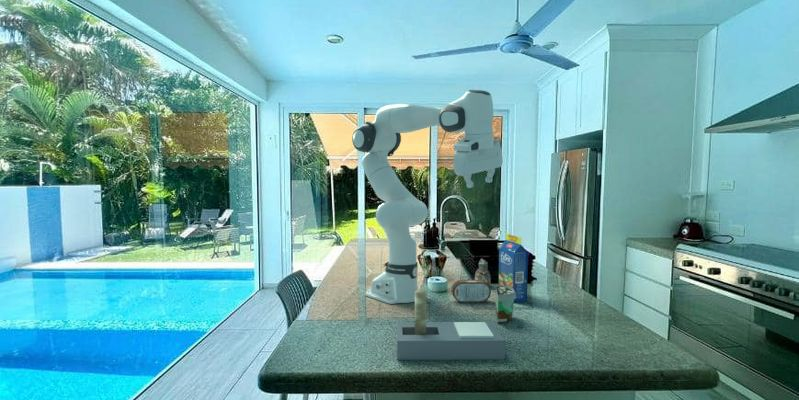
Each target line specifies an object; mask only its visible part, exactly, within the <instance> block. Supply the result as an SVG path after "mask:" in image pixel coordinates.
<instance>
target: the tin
mask: <svg viewBox="0 0 799 400" xmlns="http://www.w3.org/2000/svg"><path fill="white" fill-rule="evenodd" d="M450 291H451V294H452V296H453V298H454V299H455V300H456V301H457V302H459V303H484V302H486V301H488V300H489V299H490V297H491V293H492V289H491V287H489V285H488V284H487V282H485V281H483V280H475V279H458V280H456V281H455V282H454V283H453V284H452V286H451V290H450Z"/></svg>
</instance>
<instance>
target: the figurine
mask: <svg viewBox="0 0 799 400" xmlns="http://www.w3.org/2000/svg"><path fill="white" fill-rule="evenodd" d="M488 265H489V263H488V261H487V260H485V259H484V258H480V260H479V261H478V268H477V269H476V271H475V274H474V280H483V281H485V282H487V284H488V285H489V287H490V288H491V284H492V283H491V273H490V271H489V270H488V268H489V267H488Z"/></svg>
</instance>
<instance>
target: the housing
mask: <svg viewBox="0 0 799 400" xmlns="http://www.w3.org/2000/svg"><path fill="white" fill-rule="evenodd" d="M505 350H506V340H505V338H504V337H503V335H502V334H501V333H500V331H499V330H498V328H497V327H496V326H495V324H494V322H492V321H433V322H432V321H426V335H415V321H414V322H413V321H404V322H403V321H402V322H401V321H399V322H398V321H397V322H396V360H398V361H401V360H402V361H403V360H405V361H409V360H410V361H412V360H414V361H418V360H425V361H426V360H429V361H433V360H435V361H436V360H439V361H440V360H442V361H443V360H447V361H448V360H450V361H451V360H457V361H458V360H505V359H506V358H505V357H506V356H505V355H506V353H505Z"/></svg>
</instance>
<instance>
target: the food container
mask: <svg viewBox="0 0 799 400" xmlns="http://www.w3.org/2000/svg"><path fill="white" fill-rule="evenodd" d="M514 299H516V294H515V291H514V289H513V288H511V287H508V286H504V285H499V284H495V317H496V322H497V325H504V324H505V323H506V324H509V322H510V323H511V322H512V321H513V312H514V305H515V304H514V303H515V302H514ZM506 324H505V325H506Z"/></svg>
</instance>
